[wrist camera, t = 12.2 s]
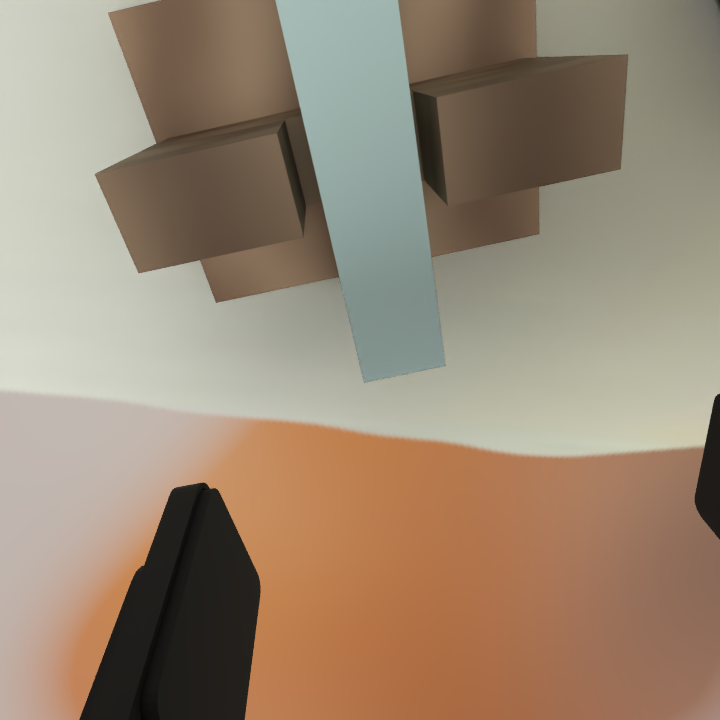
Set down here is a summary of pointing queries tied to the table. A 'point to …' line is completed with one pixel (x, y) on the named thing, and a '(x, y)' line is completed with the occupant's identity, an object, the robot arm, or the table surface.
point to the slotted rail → (261, 79)
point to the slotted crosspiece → (368, 175)
